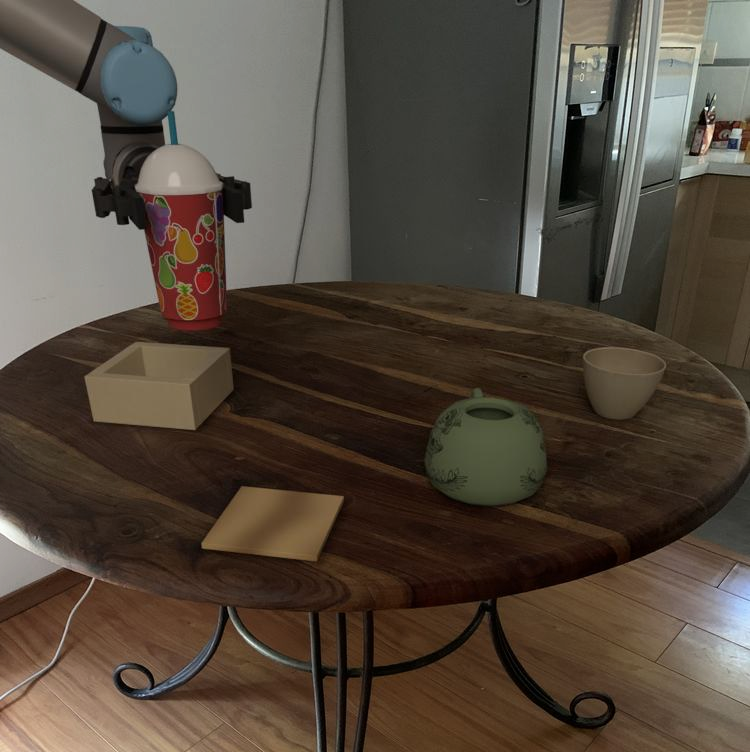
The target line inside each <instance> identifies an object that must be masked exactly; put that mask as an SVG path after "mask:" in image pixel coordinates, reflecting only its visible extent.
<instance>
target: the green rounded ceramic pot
mask: <svg viewBox="0 0 750 752" xmlns="http://www.w3.org/2000/svg"><path fill="white" fill-rule="evenodd" d="M426 446H427V447H426V451H425V454H424V458H423V463H424V467H425V473H426V477H427V478H428V480H429V482H430V484H431V485H432V486H433V487H434V488H435V489H436V490H438V491H439V492H441V493H442V494H444V495H445V496H447V497H449V498H450V499H452V500H454V501H457V502H461V503H463V504H467V505H471V506H479V507H490V508H491V507H492V508H493V507H499V506H500V507H501V506H507V505H508V506H509V505H512V504H514V503H516V502H520V501H523V500H525V499H527V498H529V497H531V496H534V494H536V492H537V491H538V490H539V488H540V487H541V486H542V485H543V482H544V479H545V477H546V474H547V470H548V463H547V449H546V447H547V445H546V438H545V435H544V432H543V429H542V426H541V423H540V422H539V420H538V419H537V417H536V416H535V415H534V414H533V413H532V412H531V411H530V410H529V409H528V408H527V407H526V406H524V405H522V404H520V403H517V402H515V401H513V400H510V399H509V400H508V399H504V398H500V397H487V396H486V397H484V393H483V391H482V389H481V388H480V387H476V388H473V389H472V390H471V394H470V396H469V397H468V398H464V399H461V400H458V401H455V402H454V403H453V404H451V405H450V406H449V407H447V408H446V409H445V410H443V411H442V412H441V413H440V414H439V416H438V418H437V419H436V421H435V422H434V425H433V426H432V429H431V430H430V434H429V438H428V443H427V445H426Z"/></svg>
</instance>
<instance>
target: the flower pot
mask: <svg viewBox="0 0 750 752" xmlns="http://www.w3.org/2000/svg"><path fill="white" fill-rule="evenodd" d="M666 368H667V363H666V361H665V360H663V358H661V357H659V356H658V355H655V354H653V353H650V352H647V351H643V350H641V349H640V350H639V349H634V348H629V347H618V346H617V347H616V346H607V347H606V346H604V347H596V348H591V349H589V350H587V351H585V352H584V353H583V355H582V375H583V381H584V386H585V391H586V395H587V397H588V400H589V402H590V404H591V407H592V409H593V411H594V412H595V414H597V415H598V416H600V417H603V418H605V419H608V420H609V419H610V420H616V421H624V420H629V419H631V418H633V417H635V416H636V415H637V414H638V413H639V411H641V410H642V409H643V408H644V406H645V405H646V404H647V403H648V401H650V399H651V397H652V396H653V395H654V393H655V391H656V390H657V388H658V386H659V384H660V382H661V381H662V378H663V376H664V373H665V371H666Z"/></svg>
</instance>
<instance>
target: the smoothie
mask: <svg viewBox="0 0 750 752" xmlns="http://www.w3.org/2000/svg"><path fill="white" fill-rule="evenodd" d="M167 114H168V116H167V121H168V122H167V123H168V130H169V137H170V138H169V139H170V143H166V144H165V145H164V146H162V147H160V148H158V149H156V150H155V151H153V152H152V153H151V154H150V155H149V156H148V157H147V158H146V160H145V161H144V163H143V165H142V167H141V170H140V174H139V178H138V183H137V184H135V189H136V192H137V193H138V194H139V195H141V196H142V197H143V200H144V207H145V214H146V221H147V228H148V229H144V230H143V232H144V236H145V241H146V246H147V251H148V256H149V260H150V261H149V262H150V265H151V271H152V275H153V281H154V285H155V291H156V296H157V299H158V304H159V310H160V315H161V316H162V317H165V319H166V322H167V325H168V327H170V328H171V329H173V330H176V331H180V332H181V331H182V332H201V331H207V330H211V329H214V328H217V327H219V326H220V325H222V324H223V321H224V314H225V313H226V312H227V310H228V298H227V297H228V295H227V294H228V293H227V268H226V267H227V266H226V264H227V263H226V239H225V238H226V237H225V236H226V234H225V233H226V232H225V215H224V203H223V186H224V184H223V183H222V182H221V181H219V178H218V176H217V174H218V173H217V172H216V170H215V168H214V166H213V165H212V164H211V162H210V161H209V159H207V158H206V156H205V155H203V154H202V153H201V152H200V151H198V150H196V149H195V148H194V147H191V146H188V145H186V144H183V143H179V140H178V131H177V124H176V115H175V114H176V113H175V111H174V110H172V111H167ZM216 173H217V174H216Z"/></svg>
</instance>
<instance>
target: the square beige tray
mask: <svg viewBox="0 0 750 752" xmlns="http://www.w3.org/2000/svg"><path fill="white" fill-rule="evenodd" d="M233 377H234V376H233V370H232V359H231V348H230V347H222V346H221V347H218V346H204V345H203V346H202V345H189V344H176V343H175V344H174V343H162V342H161V343H159V342H148V341H147V342H144V341H135V342H133V343H132V344H130V345H129V346H126V348H124V349H123V350H122V351H119V352H118V353H117V354H115V355H114V356H112V357H111V358H109V359H108V360H107V361H105V362H103V363H101V364H100V365H99V366H97V367H96V368H94V369H93V370H92V371H90V372H89V373H87V374H86V375H84V382H85V386H86V393H87V396H88V401H89V407H90V410H91V411H90V412H91V415H92V420H93V422H95V423H105V424H106V423H108V424H120V425H132V426H140V427H141V426H142V427H152V428H153V427H154V428H164V429H165V428H166V429H177V430H188V431H189V430H190V431H196V430H197V429H198V428H199V427H200V426H201V425H202V424H203V423H204V422H205V421H206V419H208V418H209V416H210V415H212V413H213V412H214V411H215V410H217V408H218V407H219V406H220V405H221V404H222V403H223V402H224V400H225V399H226V398H228V397H229V396H230V394H231V393H232V392H233V391H234V390H235V388H234V378H233Z"/></svg>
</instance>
